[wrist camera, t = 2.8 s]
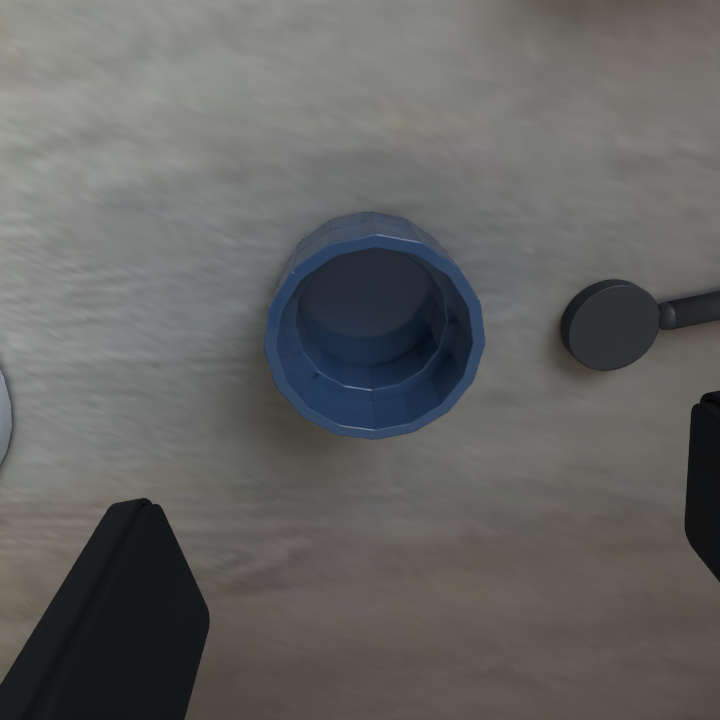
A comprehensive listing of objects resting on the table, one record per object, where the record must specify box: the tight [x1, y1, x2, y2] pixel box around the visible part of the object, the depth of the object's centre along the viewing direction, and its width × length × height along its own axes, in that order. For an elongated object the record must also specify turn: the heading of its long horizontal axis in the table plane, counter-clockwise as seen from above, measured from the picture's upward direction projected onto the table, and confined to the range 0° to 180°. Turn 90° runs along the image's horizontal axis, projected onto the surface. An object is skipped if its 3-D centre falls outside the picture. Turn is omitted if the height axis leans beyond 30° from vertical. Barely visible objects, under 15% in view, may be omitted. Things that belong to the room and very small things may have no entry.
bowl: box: [264, 212, 485, 440], centre depth 19 cm, size 7×7×5 cm
